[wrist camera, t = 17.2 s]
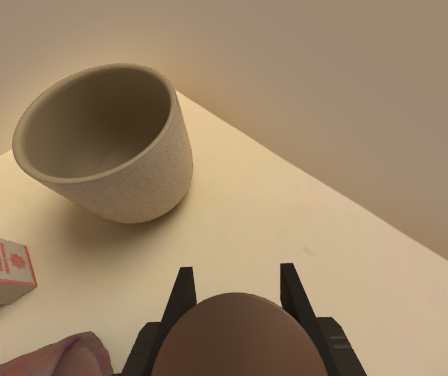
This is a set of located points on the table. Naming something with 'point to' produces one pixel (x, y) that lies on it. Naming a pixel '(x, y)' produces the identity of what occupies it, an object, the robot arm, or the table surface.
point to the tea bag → (14, 272)
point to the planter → (109, 142)
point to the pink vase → (63, 359)
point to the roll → (238, 341)
